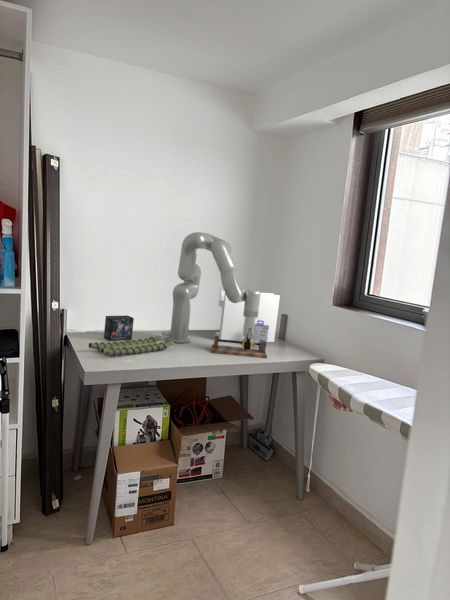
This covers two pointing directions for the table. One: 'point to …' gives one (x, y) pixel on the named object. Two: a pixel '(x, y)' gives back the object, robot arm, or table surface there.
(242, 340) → the sleeve
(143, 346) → the olive green bumpy strip
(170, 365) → the table surface
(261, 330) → the ink cartridge box
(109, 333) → the small box
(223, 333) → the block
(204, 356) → the table surface
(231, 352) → the cord board
